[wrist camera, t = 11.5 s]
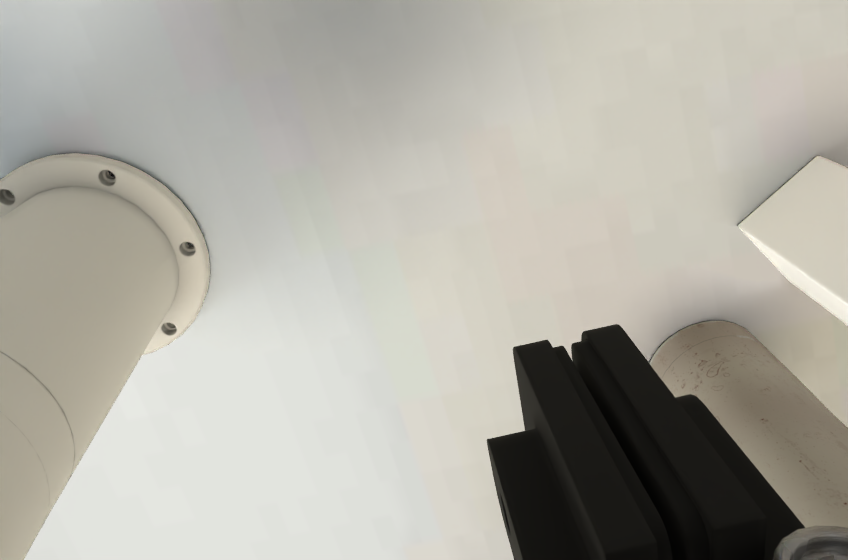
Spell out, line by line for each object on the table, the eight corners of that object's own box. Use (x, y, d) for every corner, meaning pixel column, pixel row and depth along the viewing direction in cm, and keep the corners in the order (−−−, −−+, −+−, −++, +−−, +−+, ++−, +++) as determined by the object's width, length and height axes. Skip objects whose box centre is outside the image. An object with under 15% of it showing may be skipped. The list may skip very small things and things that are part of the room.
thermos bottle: (718, 427, 46) (1123, 967, 21) (624, 399, 45) (947, 954, 20) (782, 338, 43) (1343, 849, 18) (684, 305, 42) (1158, 820, 17)
